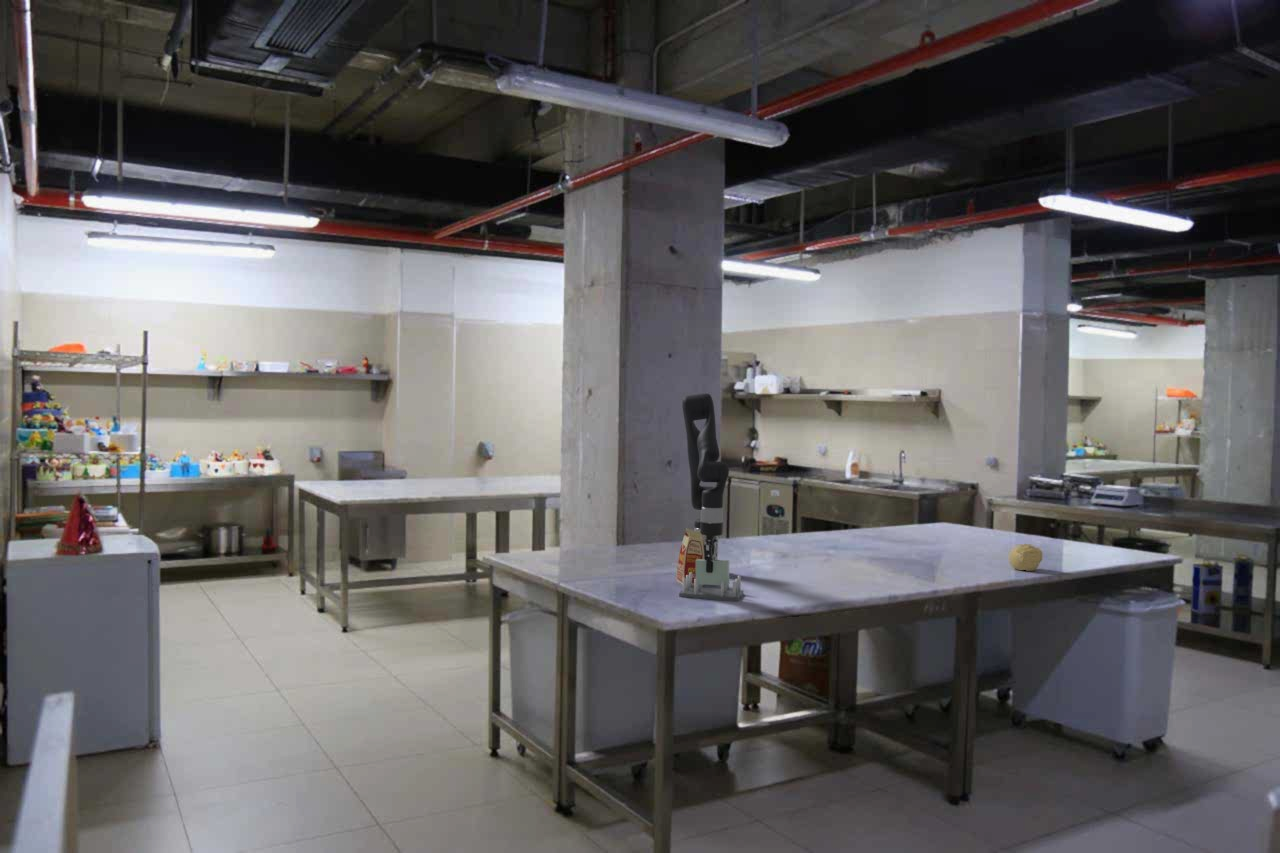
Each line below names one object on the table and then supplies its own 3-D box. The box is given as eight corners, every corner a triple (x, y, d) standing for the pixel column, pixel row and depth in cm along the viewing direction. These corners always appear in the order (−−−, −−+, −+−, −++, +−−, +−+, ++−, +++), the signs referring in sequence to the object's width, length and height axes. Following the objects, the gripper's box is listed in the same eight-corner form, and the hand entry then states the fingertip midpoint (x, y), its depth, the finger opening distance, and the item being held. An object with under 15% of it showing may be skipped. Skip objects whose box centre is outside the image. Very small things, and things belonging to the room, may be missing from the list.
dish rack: (686, 589, 314) (686, 572, 314) (743, 594, 309) (743, 576, 309) (679, 596, 303) (679, 578, 303) (738, 601, 298) (738, 582, 297)
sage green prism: (697, 582, 306) (697, 558, 306) (729, 583, 303) (729, 560, 303) (695, 584, 303) (695, 560, 303) (727, 585, 300) (727, 561, 300)
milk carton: (683, 585, 321) (684, 529, 321) (675, 580, 330) (676, 526, 330) (707, 584, 324) (708, 529, 324) (698, 579, 333) (700, 526, 332)
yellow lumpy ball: (1023, 573, 362) (1024, 546, 362) (1002, 567, 374) (1003, 542, 373) (1046, 572, 366) (1047, 545, 366) (1025, 566, 377) (1026, 541, 377)
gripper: (704, 517, 310) (703, 567, 311) (696, 522, 297) (695, 574, 297) (726, 518, 309) (724, 568, 309) (719, 523, 295) (717, 576, 295)
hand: (710, 571), depth 303 cm, fingers closed on sage green prism, 3 cm apart
